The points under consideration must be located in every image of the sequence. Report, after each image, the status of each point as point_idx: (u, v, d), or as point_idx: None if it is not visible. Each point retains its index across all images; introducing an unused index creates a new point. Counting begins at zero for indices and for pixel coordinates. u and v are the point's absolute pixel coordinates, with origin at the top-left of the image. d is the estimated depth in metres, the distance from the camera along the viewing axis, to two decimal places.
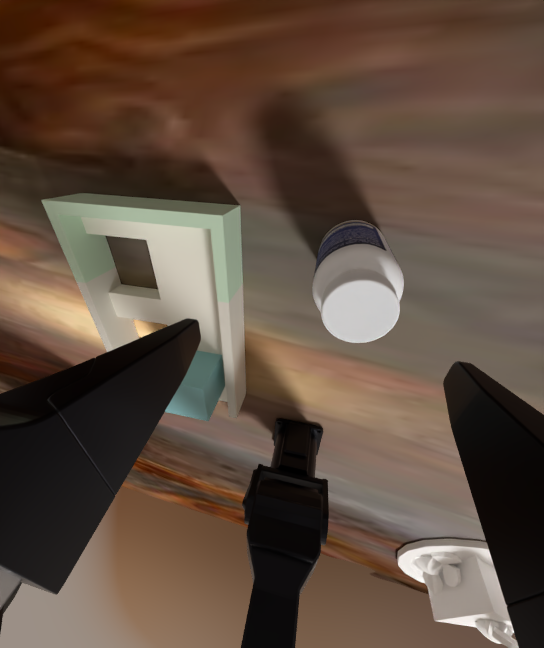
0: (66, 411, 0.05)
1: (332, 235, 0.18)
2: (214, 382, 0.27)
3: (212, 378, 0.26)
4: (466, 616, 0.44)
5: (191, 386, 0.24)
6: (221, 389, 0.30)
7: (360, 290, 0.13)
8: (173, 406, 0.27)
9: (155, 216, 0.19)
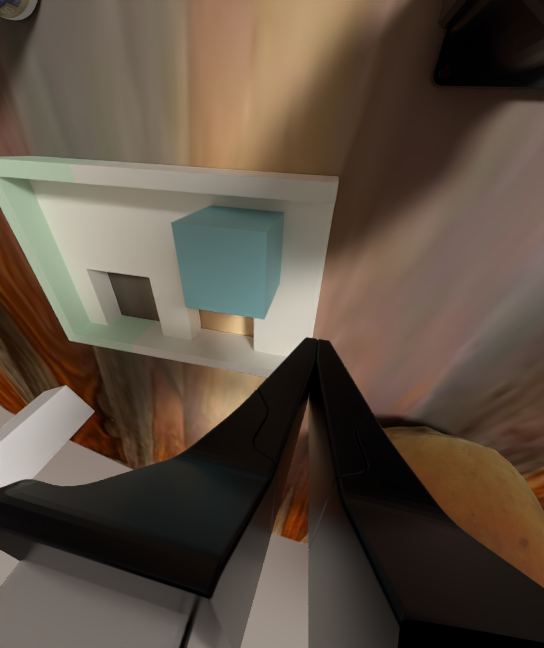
0: None
1: None
2: (217, 215, 0.15)
3: (202, 215, 0.15)
4: None
5: (175, 246, 0.14)
6: (272, 214, 0.16)
7: None
8: (244, 298, 0.15)
9: (22, 240, 0.19)
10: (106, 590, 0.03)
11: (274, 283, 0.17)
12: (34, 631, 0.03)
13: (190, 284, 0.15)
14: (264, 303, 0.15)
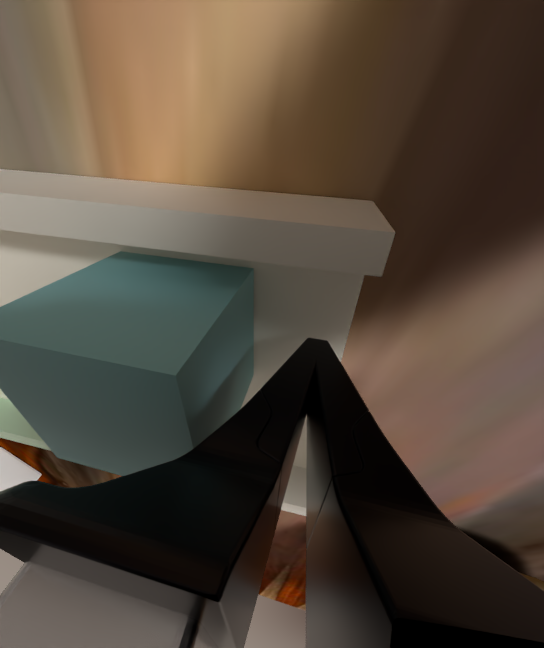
0: None
1: None
2: (104, 289, 0.07)
3: (69, 288, 0.07)
4: None
5: None
6: (224, 279, 0.08)
7: None
8: None
9: None
10: (112, 592, 0.03)
11: (235, 399, 0.09)
12: (40, 632, 0.03)
13: (49, 431, 0.07)
14: None
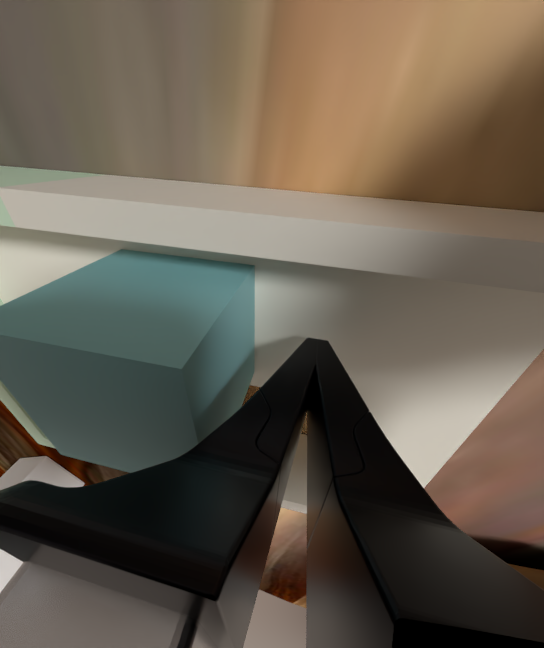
0: None
1: None
2: (106, 286, 0.07)
3: (72, 286, 0.07)
4: None
5: None
6: (226, 276, 0.08)
7: None
8: (161, 461, 0.07)
9: None
10: (110, 591, 0.03)
11: (237, 395, 0.09)
12: (38, 632, 0.03)
13: (53, 427, 0.07)
14: None
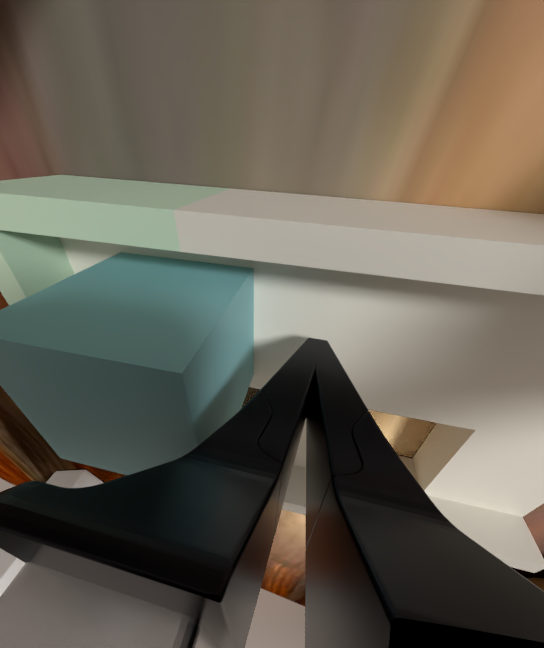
0: None
1: None
2: (106, 289, 0.07)
3: (71, 289, 0.07)
4: None
5: None
6: (225, 279, 0.08)
7: None
8: None
9: None
10: (113, 592, 0.03)
11: (237, 398, 0.09)
12: (41, 633, 0.03)
13: (52, 431, 0.07)
14: None
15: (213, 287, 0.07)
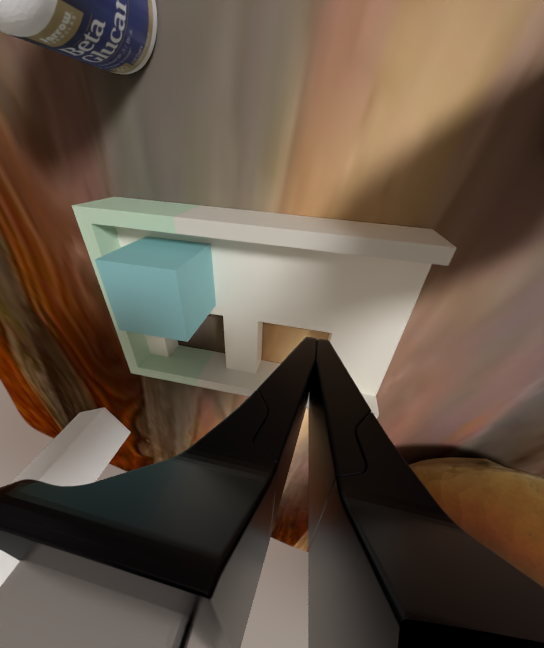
0: None
1: None
2: (143, 249, 0.16)
3: (129, 249, 0.16)
4: None
5: (101, 278, 0.15)
6: (196, 247, 0.17)
7: None
8: (167, 323, 0.16)
9: None
10: (106, 590, 0.03)
11: (203, 307, 0.18)
12: (34, 631, 0.03)
13: (120, 310, 0.17)
14: (185, 328, 0.16)
15: (190, 250, 0.17)
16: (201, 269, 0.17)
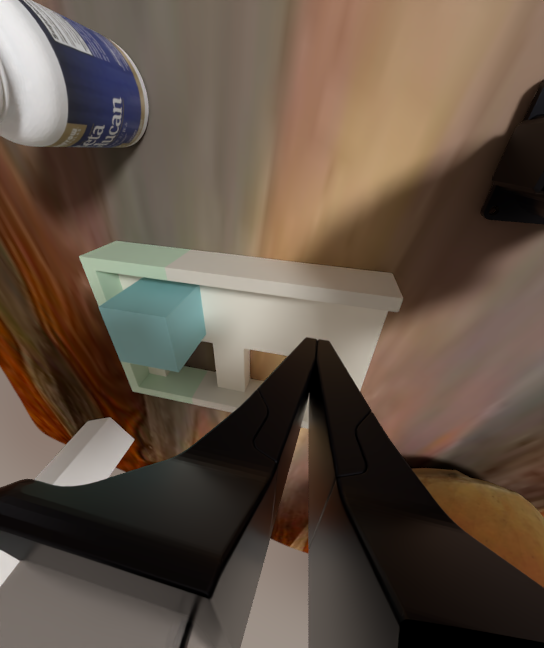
0: None
1: None
2: (140, 293, 0.19)
3: (128, 293, 0.19)
4: None
5: (104, 321, 0.18)
6: (186, 289, 0.20)
7: None
8: (160, 357, 0.19)
9: None
10: (106, 590, 0.03)
11: (193, 339, 0.21)
12: (34, 631, 0.03)
13: (120, 346, 0.19)
14: (176, 361, 0.19)
15: (180, 292, 0.19)
16: (190, 308, 0.20)
